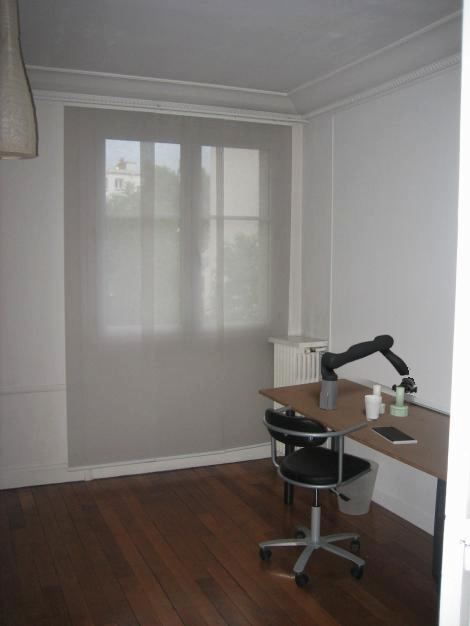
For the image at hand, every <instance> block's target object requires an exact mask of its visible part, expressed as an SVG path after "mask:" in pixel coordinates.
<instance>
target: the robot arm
mask: <svg viewBox="0 0 470 626" xmlns="http://www.w3.org/2000/svg"><path fill="white" fill-rule="evenodd" d="M394 344H395V339H394V338H393V336H391V335H390V334H381V335H376V336H375V337H374V339H373V340H368V341H363V342H358V343H355V344H353V345H351V346H349V348H347V350H346V351H344V352H339V353H335V352H330V351H326V352H324V353H323V354H322V356H321V358H320V375H321V391H320V393H319V409H323V410H325V409H326V410H325V411H328V410H329V411H332V410H333V409H334V410H336V409H337V406H338V405H337V403H338V402H337V401H338V400H337V399H338V382H339V379H338V378H339V376H338V374H337V373H336V372H335V370H336V369H337V370H338V369H339V368H341V367H343V366H345V365H347V364H349V363H353V362H355V361H358V360H362V359H364V358H366V357H370V356H371V355H373V354H375V353H381V355H382V356H383V357H384V358H385V359H386V360H387V362H389V363H390V364H391V365H392V367H393V369H395V371H396V372H397V374H399V376H408V375H409V370H408V368H409V367H407V366H408V365H407V364H406V362H405V361H404V360H403V359H402V358H401V357H400V356H399V355H397V354H396V353H395V352H393V351H392V350H391V348H392V347H393V346H394ZM415 385H416V384H415V382H414V379H413V378H410V377H408V378H404V377H402V378H401V382H400V384H399V385H398V384H393V385H392V386H391V390H392V391H393V392H395V393H396V387H404V394H417V392H418V386H415ZM334 410H333V411H334Z"/></svg>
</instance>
